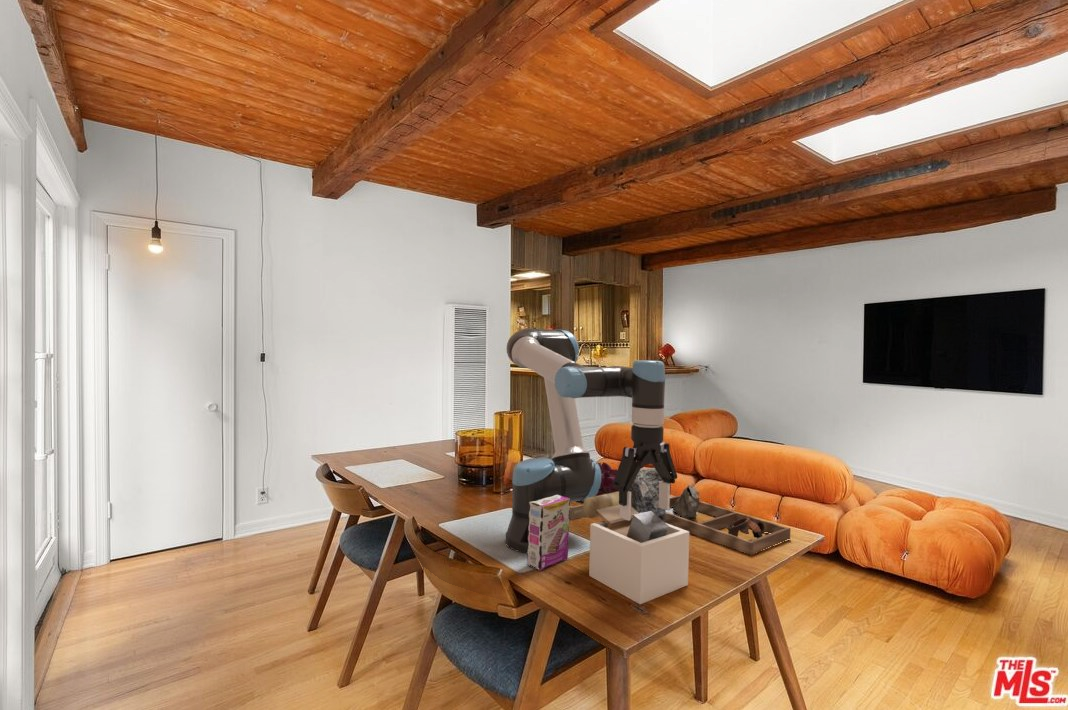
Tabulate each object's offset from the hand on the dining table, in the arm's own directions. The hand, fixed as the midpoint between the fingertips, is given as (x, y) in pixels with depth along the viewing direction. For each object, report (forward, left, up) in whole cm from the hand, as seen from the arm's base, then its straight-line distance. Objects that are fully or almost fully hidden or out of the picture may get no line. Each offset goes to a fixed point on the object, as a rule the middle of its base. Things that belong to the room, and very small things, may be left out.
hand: (645, 513), depth 120 cm
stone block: (-22, +25, -17) cm, 37 cm away
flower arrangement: (-58, +34, -17) cm, 69 cm away
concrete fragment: (-26, +49, -17) cm, 58 cm away
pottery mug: (-1, +46, -17) cm, 49 cm away
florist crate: (-58, +34, -17) cm, 69 cm away
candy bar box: (-22, -12, -17) cm, 30 cm away
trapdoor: (-7, 0, -6) cm, 10 cm away
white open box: (-2, 0, -17) cm, 17 cm away
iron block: (0, 0, -7) cm, 7 cm away
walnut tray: (-15, +48, -17) cm, 53 cm away
